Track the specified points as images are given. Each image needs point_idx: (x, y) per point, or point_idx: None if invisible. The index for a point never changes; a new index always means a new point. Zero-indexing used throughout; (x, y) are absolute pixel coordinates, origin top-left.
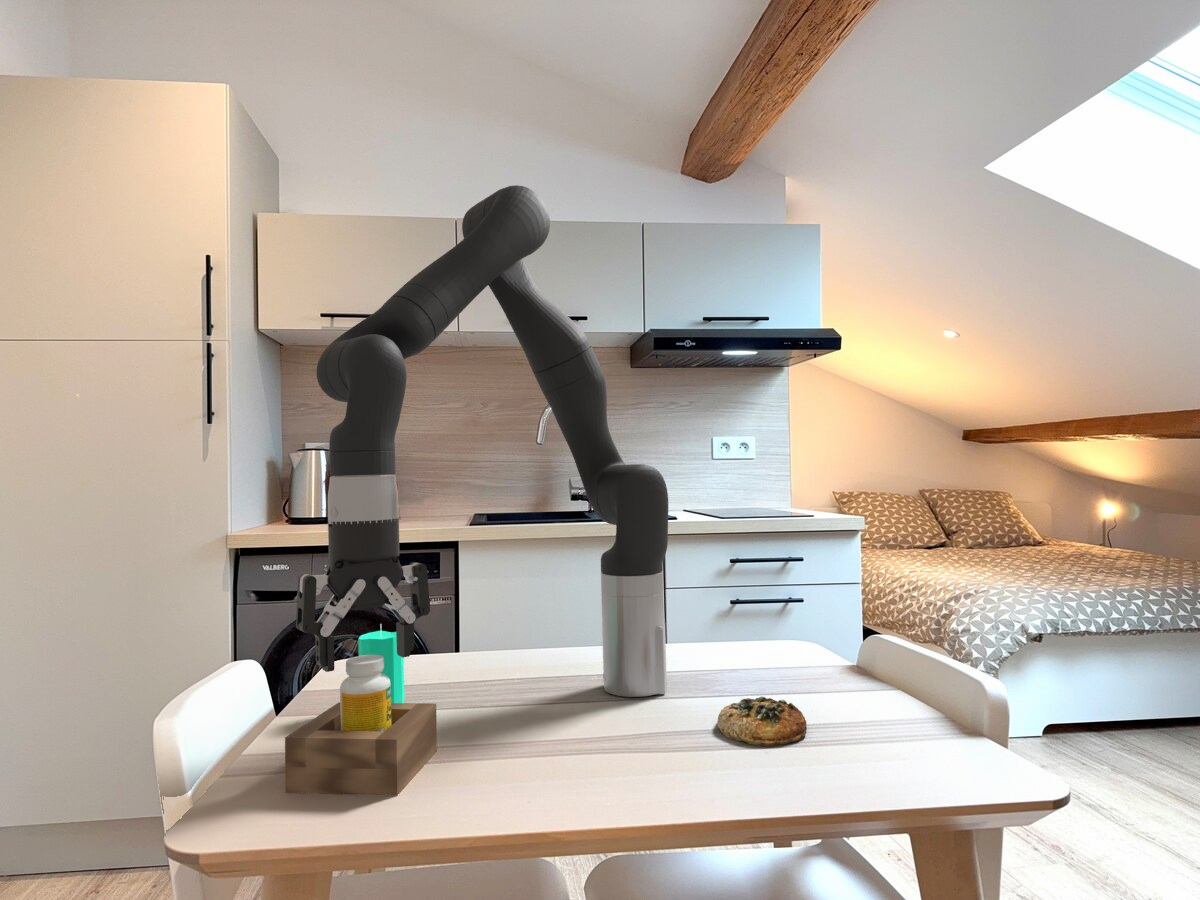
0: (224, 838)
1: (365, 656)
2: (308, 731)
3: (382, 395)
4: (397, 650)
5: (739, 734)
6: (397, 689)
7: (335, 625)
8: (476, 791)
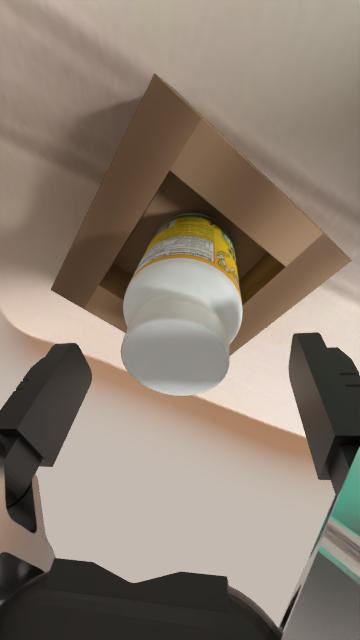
0: (43, 323)
1: (182, 340)
2: (85, 283)
3: None
4: (296, 344)
5: None
6: None
7: (39, 511)
8: (276, 360)
